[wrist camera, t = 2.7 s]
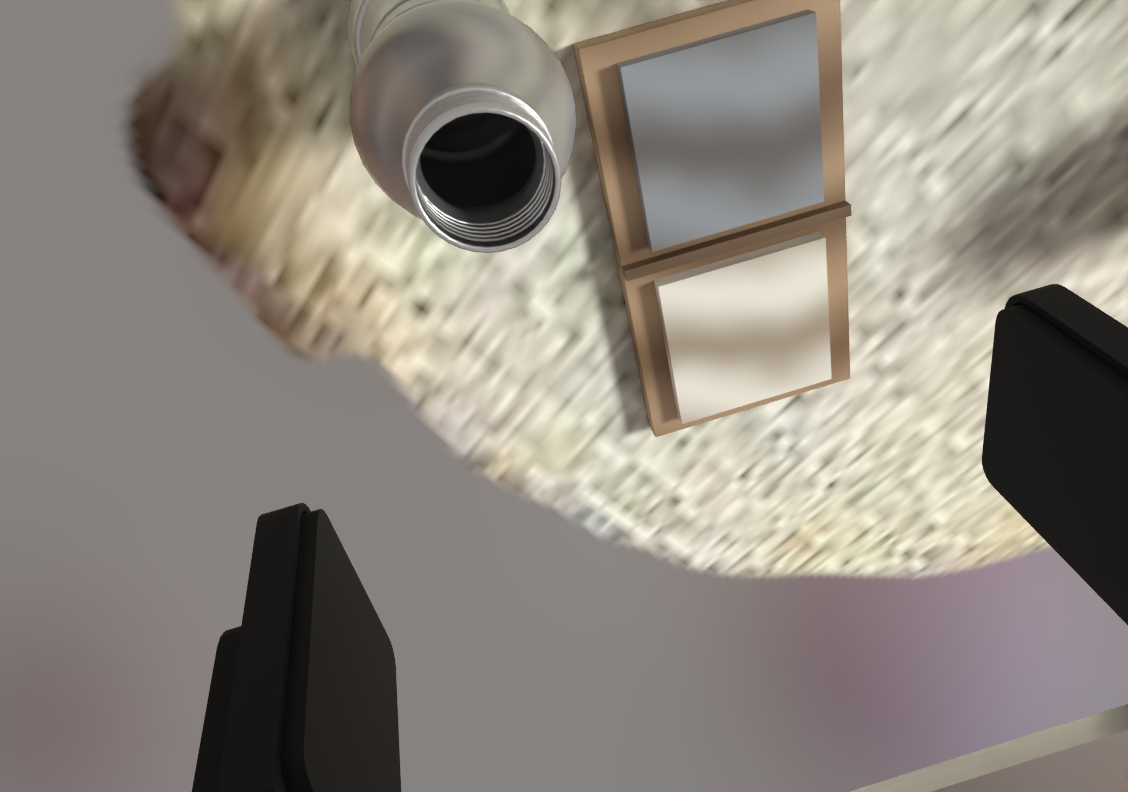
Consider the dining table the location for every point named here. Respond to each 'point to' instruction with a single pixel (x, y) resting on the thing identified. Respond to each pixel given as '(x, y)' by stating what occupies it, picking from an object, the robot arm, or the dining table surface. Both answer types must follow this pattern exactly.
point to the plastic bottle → (461, 117)
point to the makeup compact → (726, 201)
